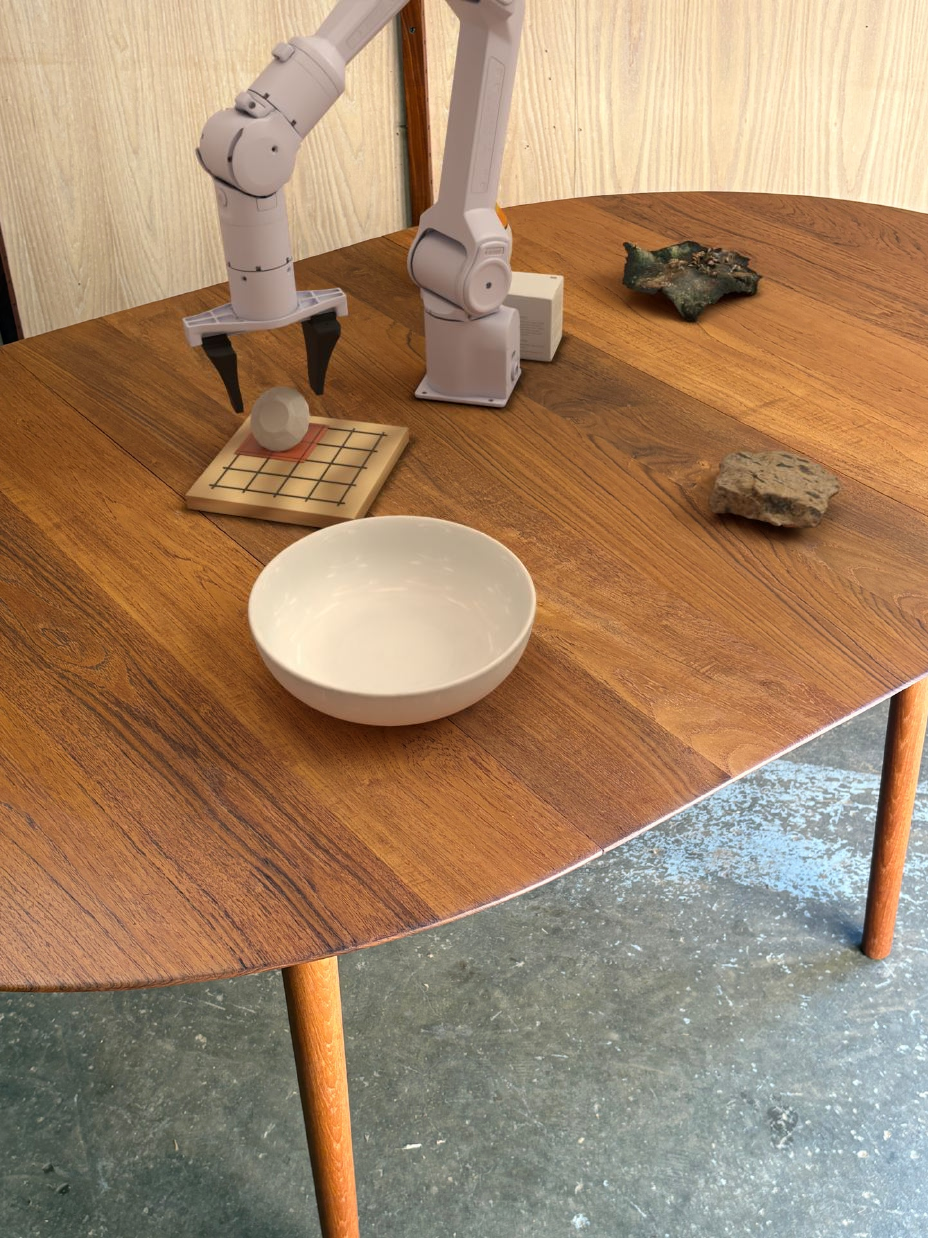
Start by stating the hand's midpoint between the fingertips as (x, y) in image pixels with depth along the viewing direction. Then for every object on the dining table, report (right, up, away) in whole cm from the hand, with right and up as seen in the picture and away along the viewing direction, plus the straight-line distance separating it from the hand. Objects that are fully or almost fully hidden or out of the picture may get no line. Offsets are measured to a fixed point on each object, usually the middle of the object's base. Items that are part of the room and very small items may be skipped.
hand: (277, 399), depth 113 cm
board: (+2, -7, +1) cm, 7 cm away
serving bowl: (+12, -24, -21) cm, 34 cm away
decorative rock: (+44, +19, +32) cm, 58 cm away
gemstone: (0, -3, +3) cm, 4 cm away
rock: (+45, -10, -5) cm, 46 cm away
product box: (+25, +9, +20) cm, 33 cm away
